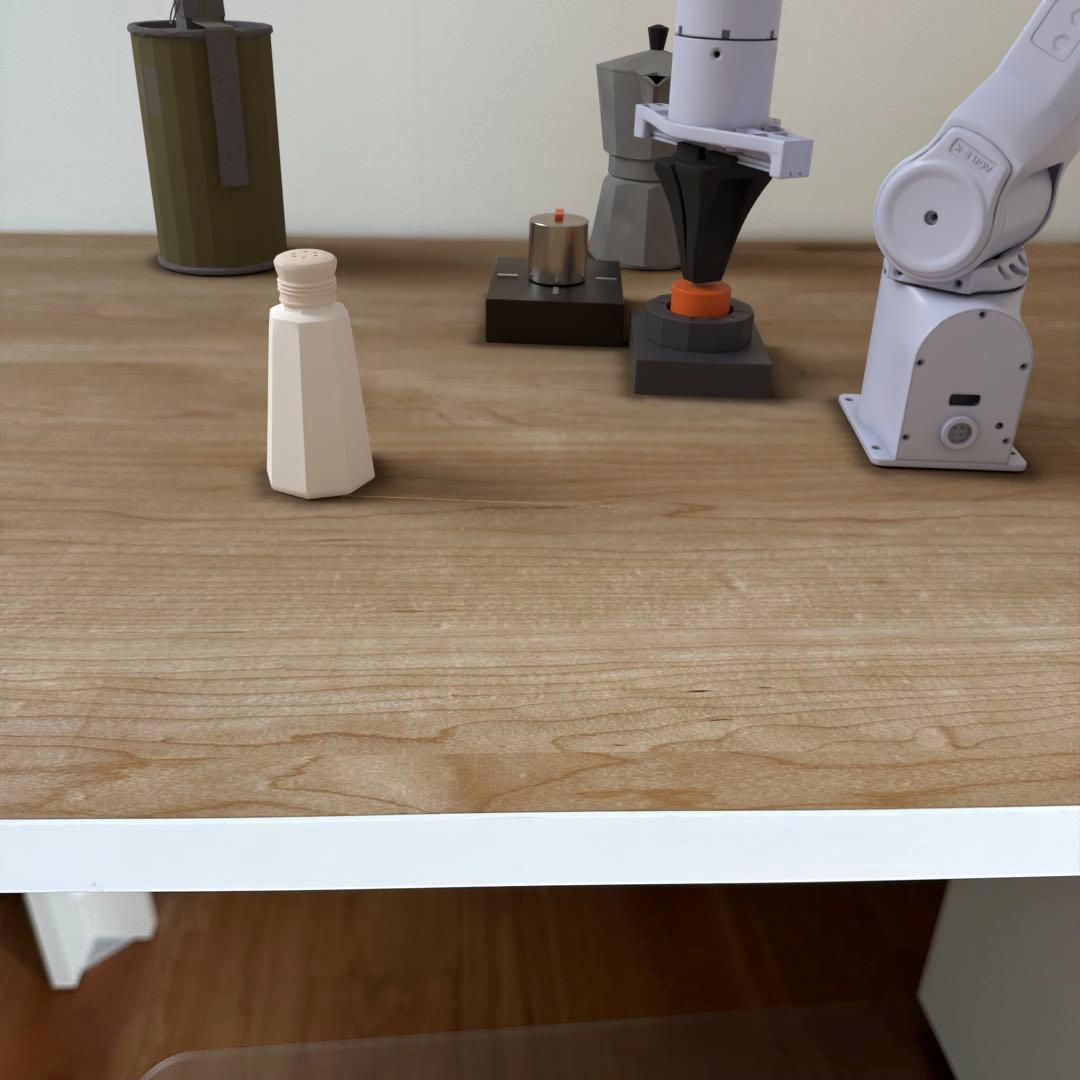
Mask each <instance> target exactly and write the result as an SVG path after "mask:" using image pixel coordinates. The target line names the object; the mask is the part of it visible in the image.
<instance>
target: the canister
mask: <svg viewBox="0 0 1080 1080" xmlns="http://www.w3.org/2000/svg"><path fill="white" fill-rule="evenodd" d="M172 1H173V3H172V6H171V9H170V12H169V19H154V20H153V19H151V20H141V21H134V22H128V24H127V25H126V30H127V32H129V36H130V43H131V49H132V55H133V56H132V57H133V64H134V73H135V79H136V87H137V93H138V101H139V109H140V115H141V125H142V131H143V138H144V146H145V153H146V161H147V167H148V168H147V169H148V176H149V185H150V191H151V197H152V205H153V212H154V219H155V220H154V221H155V226H156V228H155V229H156V234H157V235H156V236H157V241H158V251H159V253H158V254H157V262H158V263H159V265H160V266H161V267H163V268H164V269H167V270H170V271H172V272H176V273H179V274H186V275H193V276H236V275H237V276H238V275H246V274H254V273H261V272H265V271H270V270H273V269H275V266H274V259H275V258H276V256H277V255H279V254H281V253H283V252H286V251H289V250H290V249H289V247H288V242H287V229H286V228H287V227H286V217H285V216H286V215H285V203H284V189H283V188H284V187H283V177H282V165H281V164H282V163H281V151H280V139H279V137H280V136H279V126H278V124H279V123H278V110H277V99H276V98H277V97H276V87H275V73H274V72H275V71H274V60H273V59H274V58H273V47H272V34H273V32H274V28H273V25H272V24H269V23H266V22H259V21H250V20H249V21H248V20H229V19H228V20H227V19H226V11H225V10H226V9H225V3H224V0H172ZM173 11H174V13H173ZM172 15H173V17H172Z"/></svg>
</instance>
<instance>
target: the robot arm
mask: <svg viewBox="0 0 1080 1080" xmlns="http://www.w3.org/2000/svg"><path fill="white" fill-rule="evenodd" d="M675 7H676V8H675V19H674V22H675V23H674V30H673V31H674V34H673V46H672V53H673V58H672V70H671V83H670V96H669V105H668V104H664V103H654V104H637V105H636V111H635V126H634V136H635V137H637V138H641V139H650V138H652V139H656V140H659V141H663V142H666V143H669V144H673V145H676V146H677V149H676V152H673V156H671V157H659V158H656V159H655V164H654V170H655V172H656V174H657V176H658V178H659V180H660V182H661V185H662V187H663V189H664V192H665V194H666V197H667V200H668V203H669V206H670V210H671V214H672V218H673V222H674V227H675V232H676V238H677V244H678V251H679V258H680V264H681V267H680V269H681V270H680V271H681V274H682V275H681V276H682V279H685V280H687V281H689V282H692V283H694V284H701V283H709V282H717V281H723V278H724V275H725V273H726V269H727V267H728V264H729V261H730V258H731V255H732V253H733V250H734V247H735V245H736V242H737V239H738V237H739V235H740V232H741V231H742V228H743V226H744V223H745V222H746V220H747V218H748V215H749V214H750V212H751V210H752V208H753V207H754V205H755V204H756V202H757V200H758V198H759V197H760V196H761V194H762V193H763V192H764V190H765V189H766V187H767V186H768V185H769V184H770V182H771V181H772V180H773V178H775V179H777V180H786V179H787V180H788V179H797V178H798V179H799V178H800V179H801V178H808V177H809V176H810V172H811V171H810V170H811V163H812V158H813V157H812V156H813V149H814V141H815V140H814V139H812V138H809V137H805V136H802V135H799V134H796V133H794V132H792V131H790V130H788V129H785V128H783V127H781V124H782V120H781V118H777V117H771V116H770V113H771V104H772V95H773V87H774V78H775V72H776V71H775V70H776V61H777V53H778V45H779V36H780V35H779V34H780V27H781V26H780V25H781V16H782V9H783V0H676V6H675ZM1079 152H1080V0H1042V1H1041V2H1040V3H1039V5H1038V7H1037V9H1036V10H1035V11H1034V12H1033V14H1032V16H1031V17H1030V18H1029V19H1028V21H1027V23H1026V24H1025V26H1024V28H1023V29H1022V30H1021V32H1020V34H1019V35H1018V37H1017V38H1016V40H1015V41H1014V42H1013V44H1012V45H1011V46H1010V48H1009V50H1008V51H1007V53H1006V54H1005V56H1004V57H1003V59H1002V60H1001V62H1000V63H999V65H998V66H997V68H996V69H995V70H994V71H993V72H992V73H991V75H989V76H988V77H987V78H986V79H985V80H984V81H983V83H981V84H980V85H979V86H978V87H977V88H976V89H975V90H974V91H973V92H971V93H970V95H968V96H967V97H966V98H965V99H964V100H963V101H962V102H961V103H960V105H958V106H957V107H956V108H955V109H954V110H953V111H952V112H951V113H950V114H949V116H948V117H947V118H946V120H945V121H944V123H943V125H942V126H941V128H940V129H939V130H938V132H937V133H936V135H935V136H934V137H933V138H932V139H931V140H930V141H929V142H928V143H927V144H926V145H925V146H923V147H922V148H921V149H919V150H917V151H915V152H914V153H912V154H910V155H909V156H906V157H905V158H904V159H902V160H901V161H900V162H898V164H896V165H895V166H894V167H893V168H892V169H891V170H890V172H888V174H887V175H886V176H885V178H884V179H883V180H882V182H881V184H880V186H879V188H878V190H877V193H876V195H875V199H874V203H873V206H872V208H873V209H872V228H873V234H874V238H875V241H876V244H877V246H878V249H879V250H880V252H881V253H882V255H883V263H882V268H881V269H882V270H881V274H880V281H879V287H878V291H877V298H876V302H875V303H876V304H875V308H874V309H875V310H874V316H873V321H872V326H871V327H872V328H871V333H870V339H869V345H868V351H867V357H866V363H865V368H864V373H863V379H862V386H861V392H860V394H859V393H842V394H840V395H839V396H838V404H839V405H840V407H841V409H842V411H843V413H844V415H845V416H846V418H847V421H848V422H849V424H850V426H851V428H852V429H853V431H854V434H855V436H856V437H857V439H858V440H859V443H860V444H861V446H862V448H863V449H864V452H865V454H866V456H867V457H868V459H869V461H870V463H871V464H873V465H875V466H880V467H897V468H898V467H900V468H923V469H925V468H926V469H946V470H947V469H948V470H972V471H973V470H974V471H976V470H977V471H997V472H998V471H999V472H1023V471H1025V470H1026V468H1027V463H1028V462H1027V461H1026V460H1025V459H1024V457H1023V456H1022V455H1021V454H1020V452H1019V451H1018V450H1017V448H1015V447H1014V442H1015V436H1016V435H1017V434H1016V433H1017V430H1018V425H1019V421H1020V417H1021V413H1022V409H1023V405H1024V400H1025V397H1026V392H1027V388H1028V384H1029V381H1030V377H1031V372H1032V368H1033V362H1034V348H1033V342H1032V339H1031V336H1030V334H1029V331H1028V330H1027V327H1026V326H1025V325H1024V324H1025V323H1023V320H1022V316H1021V308H1022V304H1023V299H1024V295H1025V291H1026V286H1027V281H1028V277H1029V273H1030V267H1029V266H1028V265H1029V263H1028V259H1027V254H1026V250H1025V249H1024V248H1025V245H1026V244H1027V243H1028V242H1029V241H1031V240H1033V239H1034V238H1035V237H1036V236H1037V235H1039V233H1040V232H1042V230H1043V229H1044V228H1045V226H1046V225H1047V224H1048V223H1049V220H1050V219H1051V218H1052V216H1053V213H1054V211H1055V208H1056V205H1057V201H1058V196H1059V190H1060V185H1061V182H1062V180H1063V177H1064V174H1065V172H1066V171H1067V168H1068V167H1069V165H1070V164H1071V163H1072V161H1073V160H1074V159H1075V157H1077V155H1078V153H1079Z"/></svg>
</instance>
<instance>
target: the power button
mask: <svg viewBox="0 0 1080 1080" xmlns="http://www.w3.org/2000/svg"><path fill="white" fill-rule="evenodd" d="M671 285H672V287H671V288H672V289H671V294H672V297H671V309H670V311H672V312H674V313H676V314H681V315H686V316H691V317H706V318H714V317H721V316H728V315H729V309H730V300H731V298H732V289H733V288H732V286H731V285H730V284H729V283H727V282H725V281H723V280H721V281H717V282H709V283H701V284H694V283H692V282H689V281H687V280H685V279H683V278H681V279H677V280H675V281H674V282H673V283H672V284H671Z"/></svg>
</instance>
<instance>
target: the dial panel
mask: <svg viewBox="0 0 1080 1080" xmlns="http://www.w3.org/2000/svg"><path fill="white" fill-rule="evenodd" d="M621 268H622V267H620V261H605V260H596V259H587V265H586V279H585V281H583V282H581V283H578V284H574V285H562V286H558V285H546V284H540V283H537V282H534V281H532V280H530V279H529V277H528V257H523V256H517V257H516V256H497V257H496V261H495V264H494V269H493V272H492V276H491V280H490V283H489V286H488V290H487V295H486V298H485V343H491V344H492V343H493V344H519V345H540V346H541V345H543V346H545V345H547V346H571V347H572V346H573V347H598V348H622V345H623V330H624V328H623V327H624V315H625V313H624V312H625V300H624V290H623V280H622V279H623V278H622V269H621Z"/></svg>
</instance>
